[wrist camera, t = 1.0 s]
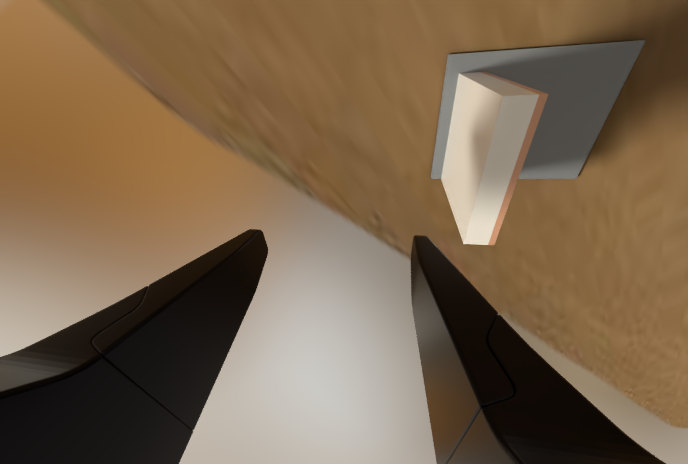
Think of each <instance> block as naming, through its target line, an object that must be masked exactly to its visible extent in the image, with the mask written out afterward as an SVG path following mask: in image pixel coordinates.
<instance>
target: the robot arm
mask: <svg viewBox="0 0 688 464" xmlns="http://www.w3.org/2000/svg"><path fill="white" fill-rule="evenodd" d="M267 254H268V247H267V244H266V241H265V237H264V234H263V232H262V231H261V230H255V229H253V230H252V229H250V230H247V231H246V232H244V233H242V234H240V235H238V236H237V237H235V238H233V239H231V240H230V241H228V242H226V243H224V244H222V245H220V246H219V247H217V248H215V249H213V250H211V251H209V252H208V253H206V254H204V255H202V256H200V257H199V258H197V259H195V260H193V261H191V262H190V263H188V264H186V265H184V266H182V267H181V268H179V269H177V270H175V271H173V272H172V273H170V274H168V275H166V276H165V277H162V278H161V279H159V280H157V281H155V282H154V283H152V284H150V285H149V287H148V286H146V287H144V288H143V289H141V290H139V291H137V292H135V293H134V294H132V295H130V296H128V297H126V298H124V299H122V300H120V301H119V302H117V303H115V304H113V305H111V306H109V307H107V308H105V309H103V310H101V311H99V312H97V313H95V314H93V315H91V316H89V317H87V318H85V319H83V320H81V321H79V322H77V323H75V324H73V325H71V326H69V327H67V328H65V329H63V330H61V331H59V332H57V333H55V334H53V335H51V336H49V337H47V338H45V339H43V340H40V341H39V342H36V343H34V344H32V345H30V346H28V347H26V348H24V349H22V350H19V351H17V352H14V353H11V354H9V355H5V356H2V357H0V464H179V462H180V459H181V457H182V455H183V453H184V451H185V449H186V446H187V444H188V442H189V440H190V437H191V435H192V433H193V430H194V428H195V426H196V423H197V421H198V419H199V417H200V415H201V412H202V410H203V408H204V406H205V403H206V401H207V399H208V397H209V395H210V392H211V390H212V388H213V386H214V383H215V381H216V379H217V377H218V374H219V372H220V370H221V368H222V366H223V363H224V361H225V359H226V357H227V354H228V352H229V350H230V348H231V345H232V343H233V341H234V339H235V337H236V334H237V332H238V330H239V328H240V325H241V323H242V321H243V319H244V316H245V314H246V312H247V310H248V307H249V305H250V303H251V301H252V298H253V296H254V294H255V292H256V288H257V286H258V283H259V280H260V277H261V274H262V270H263V267H264V264H265V261H266V258H267ZM411 296H412V307H413V315H414V321H415V327H416V333H417V340H418V346H419V352H420V359H421V365H422V372H423V378H424V384H425V390H426V397H427V404H428V409H429V416H430V423H431V429H432V435H433V442H434V448H435V455H436V461H437V464H666V463H664V462H663V461H661V460H659V459H658V458H656V457H655V456H654V455H652V454H651V453H650V452H648V451H647V450H645V449H644V448H643V447H641V446H640V445H639V444H637V443H636V442H635V441H634V440H632V439H631V438H630V437H629V436H627V435H626V434H625V433H624V432H623V431H622V430H620V429H619V428H618V427H617V426H616V425H615V424H614V423H613V422H611V421H610V420H609V419H608V418H607V417H606V416H605V415H604V414H603V413H602V412H600V411H599V410H598V409H597V408H596V407H595V406H594V405H593V404H592V403H591V402H590V401H588V400H587V399H586V398H585V397H584V396H583V395H582V394H581V393H580V392H579V391H578V390H576V389H575V388H574V387H573V386H572V385H571V384H570V383H569V382H568V381H567V380H566V379H565V378H563V377H562V376H561V375H560V374H559V373H558V372H557V371H556V370H555V369H554V368H552V367H551V366H550V365H549V364H548V363H547V362H546V361H545V360H544V359H543V358H542V357H541V356H540V355H538V353H537V352H536V351H534V350H533V349H532V348H531V347H530V346H529V345H528V344H527V343H526V342H525V341H524V340H523V339H522V338H521V337H520V335H519V334H518V333H517V332H516V331H515V330H514V329H513V328H512V327H511V326H510V325H509V324H508V323H507V322H506V321H505V320H504V319H503V317H502V316H501V315H498V312H497V311H496V310H495V309H494V308H493V307H492V306H491V305H490V304H489V303H488V301H487V300H486V299H485V298H484V297H483V296H482V295H481V294H480V293H479V292H478V291H477V290H476V288H475V287H474V286H473V285H472V284H471V283H470V282H469V281H468V280H467V279H466V278H465V277H464V275H463V274H462V273H461V272H460V271H459V270H458V269H457V268H456V267H455V266H454V265H453V264H452V262H451V261H450V260H449V259H448V258H447V257H446V256H445V255H444V254H443V253H442V252H441V251H440V249H439V248H438V247H437V246H436V245H435V244H434V243H433V242H432V241H431V240H430V239H429V238H428V237H427V236H417V235H415V236H414V237H413V242H412V250H411Z"/></svg>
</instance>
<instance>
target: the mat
mask: <svg viewBox="0 0 688 464" xmlns="http://www.w3.org/2000/svg"><path fill="white" fill-rule="evenodd" d="M645 41H646V40H636V41H623V42H609V43H596V44H582V45H569V46H555V47H542V48H528V49H514V50H501V51H487V52H474V53H460V54H448V58H447V65H446V72H445V79H444V86H443V93H442V100H441V107H440V114H439V121H438V129H437V136H436V143H435V150H434V157H433V164H432V171H431V179H441V177H442V171H443V165H444V159H445V153H446V147H447V141H448V135H449V129H450V123H451V117H452V111H453V105H454V99H455V93H456V87H457V81H458V75H459V73H474V72H487V73H490V74H493V75H496V76H498V77H501V78H504V79H507V80H510V81H513V82H516V83H518V84H521V85H524V86H527V87H530V88H533V89H536V90H538V91H541V92H544V93H547V94H548V97H547V100H546V103H545V105H544V108H543V111H542V114H541V117H540V119H539V122H538V125H537V128H536V130H535V133H534V136H533V139H532V142H531V144H530V147H529V150H528V153H527V156H526V158H525V161H524V164H523V167H522V169H521V172H520V175H519V178H518V179H576V178H577V176H578V174H579V172H580V170H581V168H582V166H583V164H584V162H585V160H586V158H587V156H588V154H589V152H590V150H591V148H592V146H593V144H594V142H595V140H596V138H597V136H598V134H599V132H600V130H601V129H602V127H603V125H604V123H605V121H606V119H607V117H608V115H609V113H610V111H611V109H612V107H613V105H614V103H615V101H616V99H617V97H618V95H619V93H620V91H621V89H622V87H623V85H624V83H625V81H626V79H627V77H628V75H629V73H630V71H631V69H632V67H633V65H634V63H635V61H636V59H637V57H638V55H639V53H640V51H641V49H642V47H643V45H644V43H645Z"/></svg>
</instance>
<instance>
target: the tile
mask: <svg viewBox="0 0 688 464" xmlns="http://www.w3.org/2000/svg"><path fill="white" fill-rule="evenodd" d="M547 97H548V94H547V93H544V92H541V91H538V90H536V89H533V88H530V87H527V86H524V85H521V84H518V83H516V82H513V81H510V80H507V79H504V78H501V77H498V76H496V75H493V74H490V73H487V72H474V73H459V75H458V81H457V87H456V93H455V99H454V105H453V111H452V117H451V123H450V129H449V135H448V141H447V147H446V153H445V159H444V165H443V171H442V177H441V180H442V183H443V186H444V189H445V191H446V194H447V197H448V200H449V203H450V206H451V209H452V212H453V214H454V217H455V220H456V223H457V226H458V229H459V232H460V235H461V237H462V240H463V243H464V244H481V245H495V242H496V239H497V236H498V233H499V231H500V228H501V225H502V222H503V219H504V217H505V214H506V211H507V208H508V206H509V203H510V200H511V197H512V194H513V192H514V189H515V186H516V183H517V181H518V178H519V175H520V172H521V169H522V167H523V164H524V161H525V158H526V156H527V153H528V150H529V147H530V144H531V142H532V139H533V136H534V133H535V130H536V128H537V125H538V122H539V119H540V117H541V114H542V111H543V108H544V105H545V103H546V100H547Z"/></svg>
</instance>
